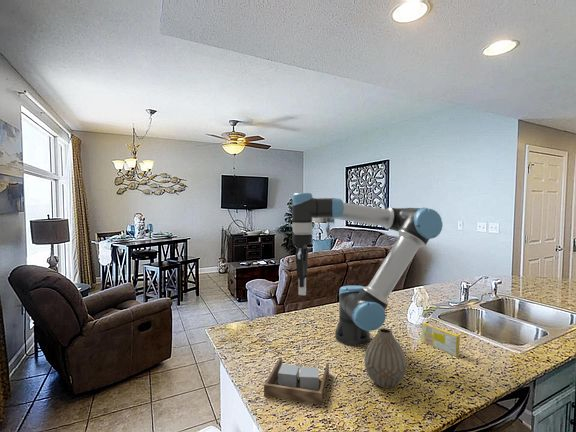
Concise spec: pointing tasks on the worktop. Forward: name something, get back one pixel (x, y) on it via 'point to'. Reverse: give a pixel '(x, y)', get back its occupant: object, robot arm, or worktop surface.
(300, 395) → the frame
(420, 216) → the robot arm
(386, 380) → the vase
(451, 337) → the candy box
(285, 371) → the tile
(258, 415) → the worktop surface
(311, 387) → the light grey square block
